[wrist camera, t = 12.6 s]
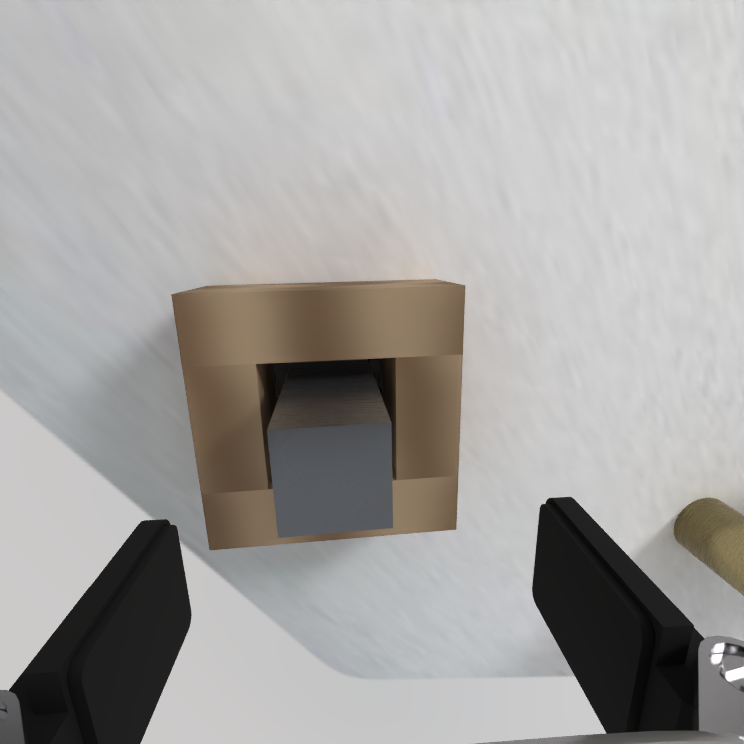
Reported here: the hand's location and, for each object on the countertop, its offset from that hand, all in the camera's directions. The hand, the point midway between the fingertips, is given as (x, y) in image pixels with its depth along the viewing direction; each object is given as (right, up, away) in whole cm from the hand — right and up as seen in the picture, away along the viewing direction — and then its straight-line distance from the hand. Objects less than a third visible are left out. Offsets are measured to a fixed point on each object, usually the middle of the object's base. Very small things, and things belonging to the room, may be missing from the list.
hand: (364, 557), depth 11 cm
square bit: (-2, +4, +13) cm, 14 cm away
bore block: (-2, +4, +13) cm, 14 cm away
